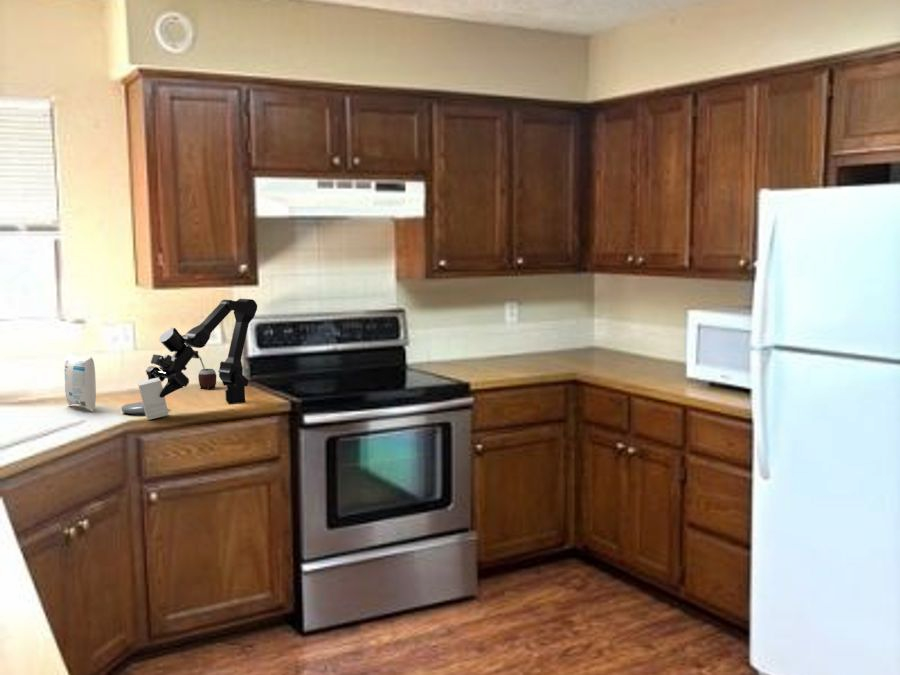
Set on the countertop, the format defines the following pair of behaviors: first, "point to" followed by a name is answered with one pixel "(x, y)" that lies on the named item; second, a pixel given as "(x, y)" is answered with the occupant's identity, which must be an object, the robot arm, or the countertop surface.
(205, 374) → the mate gourd
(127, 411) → the dish
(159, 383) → the supplement box
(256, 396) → the countertop surface
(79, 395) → the pouch
